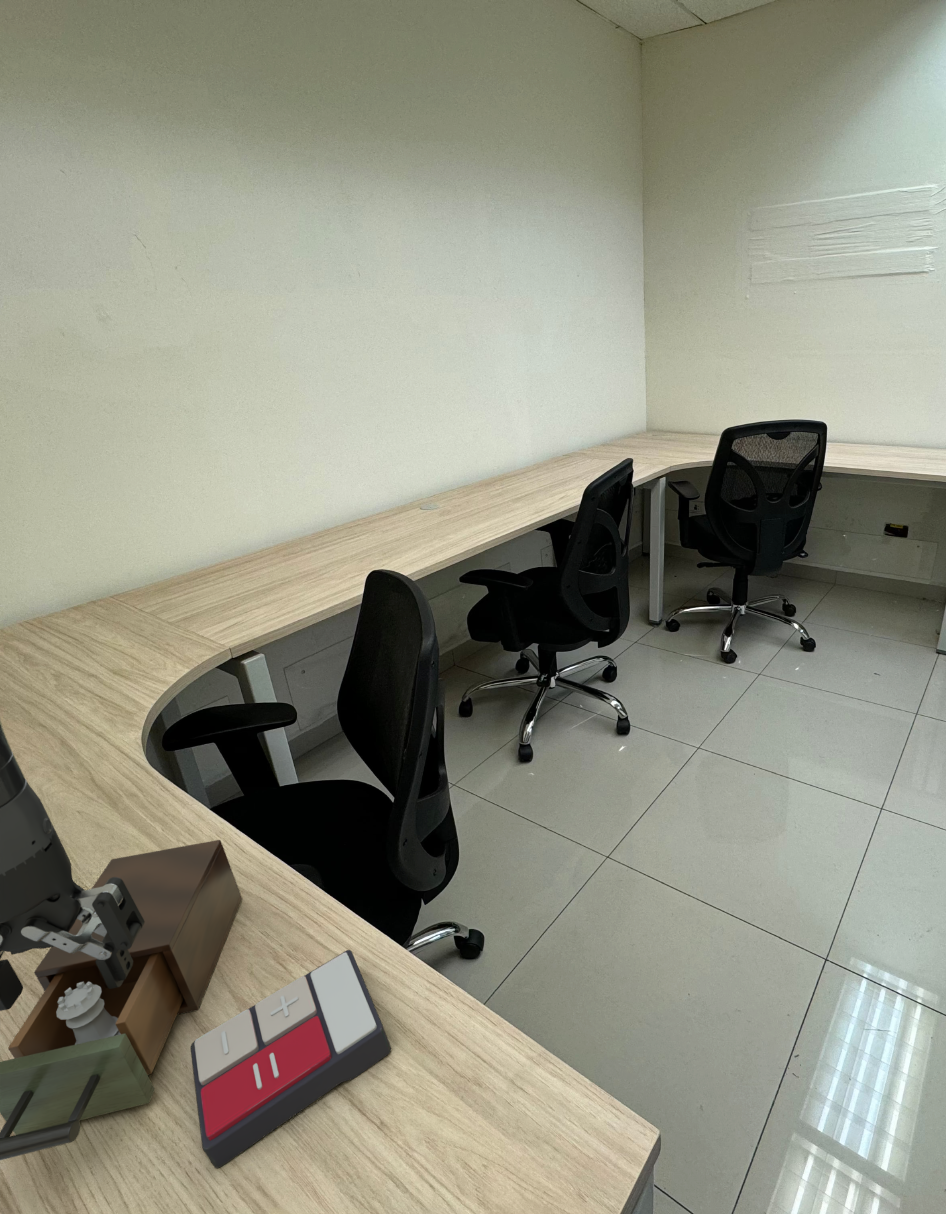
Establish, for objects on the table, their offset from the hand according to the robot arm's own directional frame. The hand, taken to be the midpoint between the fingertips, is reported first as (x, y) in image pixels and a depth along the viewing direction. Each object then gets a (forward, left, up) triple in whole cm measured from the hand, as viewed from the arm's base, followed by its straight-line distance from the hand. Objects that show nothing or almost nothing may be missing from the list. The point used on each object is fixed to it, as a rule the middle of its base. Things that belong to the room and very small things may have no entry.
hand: (67, 989), depth 55 cm
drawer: (0, 0, -10) cm, 10 cm away
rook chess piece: (0, 0, -9) cm, 9 cm away
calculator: (+17, -3, -11) cm, 21 cm away
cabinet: (0, +12, -11) cm, 16 cm away
